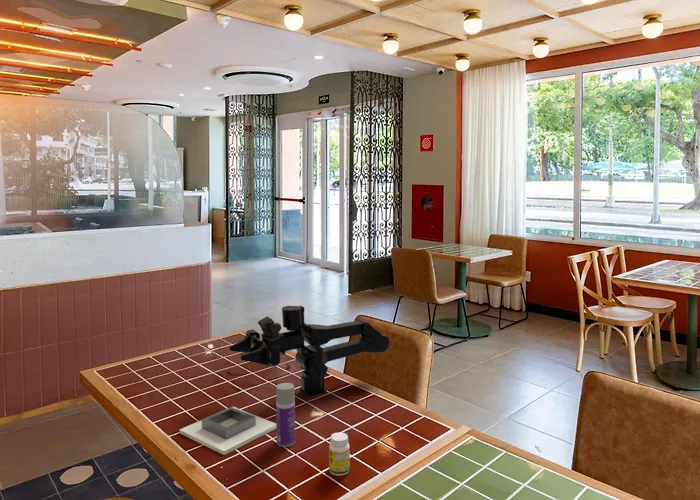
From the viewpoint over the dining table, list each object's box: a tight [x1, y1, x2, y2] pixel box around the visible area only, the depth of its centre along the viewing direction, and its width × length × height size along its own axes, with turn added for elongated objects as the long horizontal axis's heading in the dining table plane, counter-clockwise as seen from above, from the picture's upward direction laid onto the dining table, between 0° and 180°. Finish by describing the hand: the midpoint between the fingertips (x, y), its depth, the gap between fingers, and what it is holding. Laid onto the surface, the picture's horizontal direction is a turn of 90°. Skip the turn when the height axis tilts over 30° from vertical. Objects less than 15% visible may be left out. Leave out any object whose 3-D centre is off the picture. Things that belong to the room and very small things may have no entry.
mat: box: [179, 406, 276, 456], centre depth 142 cm, size 18×18×1 cm
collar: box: [201, 406, 256, 440], centre depth 142 cm, size 10×10×2 cm
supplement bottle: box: [328, 432, 351, 477], centre depth 123 cm, size 5×5×8 cm
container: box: [275, 382, 296, 448], centre depth 135 cm, size 5×5×15 cm
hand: (235, 353), depth 154 cm, fingers open, 9 cm apart
